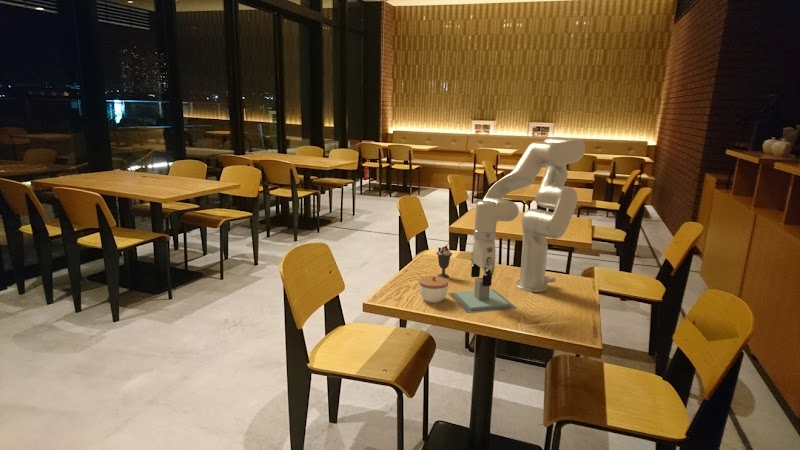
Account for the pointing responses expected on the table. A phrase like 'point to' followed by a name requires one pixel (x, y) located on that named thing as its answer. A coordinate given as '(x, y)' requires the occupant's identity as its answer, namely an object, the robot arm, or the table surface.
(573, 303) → the table surface
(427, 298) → the lidded jar
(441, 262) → the sundae
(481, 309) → the mat
